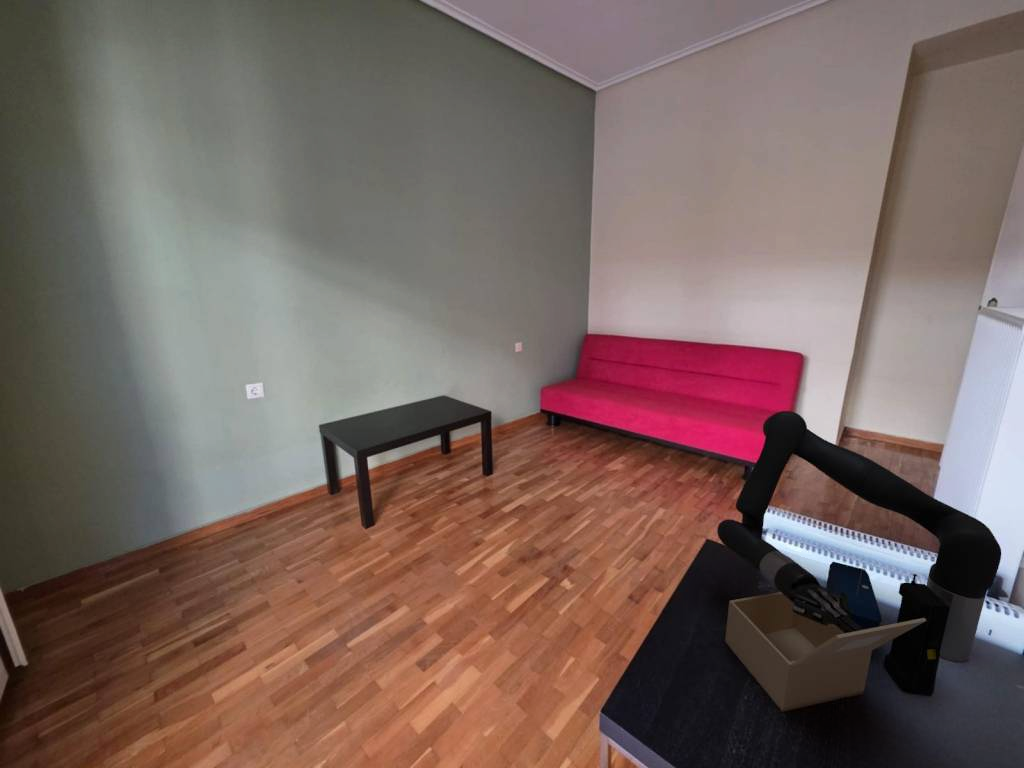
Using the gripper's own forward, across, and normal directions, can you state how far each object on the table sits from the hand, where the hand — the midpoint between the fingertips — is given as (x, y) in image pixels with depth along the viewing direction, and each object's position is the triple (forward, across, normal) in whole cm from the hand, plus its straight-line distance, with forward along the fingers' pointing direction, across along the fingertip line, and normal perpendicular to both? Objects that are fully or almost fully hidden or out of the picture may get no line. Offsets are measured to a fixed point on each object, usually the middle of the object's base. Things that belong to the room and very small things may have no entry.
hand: (860, 636), depth 79 cm
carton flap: (-1, 0, +2) cm, 2 cm away
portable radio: (-5, +22, +21) cm, 31 cm away
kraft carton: (-14, 0, +21) cm, 25 cm away
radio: (-21, +24, +21) cm, 39 cm away
